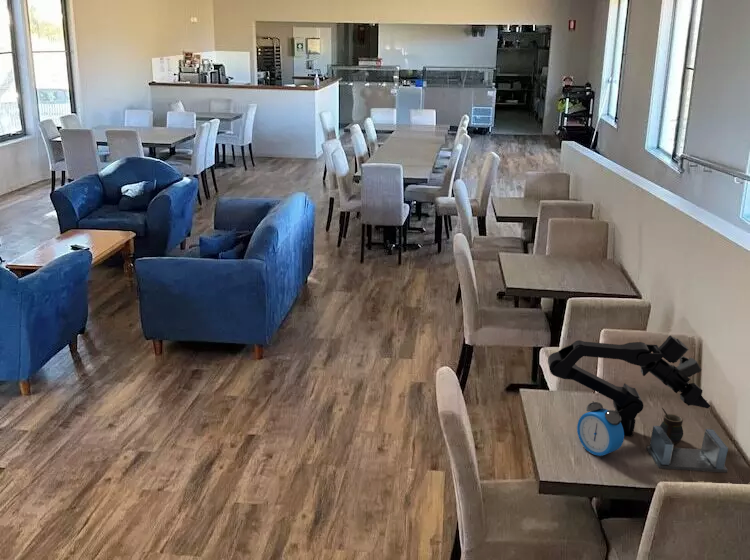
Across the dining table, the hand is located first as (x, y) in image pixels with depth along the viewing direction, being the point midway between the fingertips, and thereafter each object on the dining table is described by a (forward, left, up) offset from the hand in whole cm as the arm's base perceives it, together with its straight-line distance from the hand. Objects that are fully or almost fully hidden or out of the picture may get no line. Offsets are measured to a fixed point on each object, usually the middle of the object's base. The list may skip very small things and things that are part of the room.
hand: (703, 401), depth 233 cm
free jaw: (-16, -14, -12) cm, 24 cm away
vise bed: (-8, -14, -13) cm, 21 cm away
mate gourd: (-9, -2, -13) cm, 16 cm away
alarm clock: (-34, -12, -13) cm, 39 cm away
